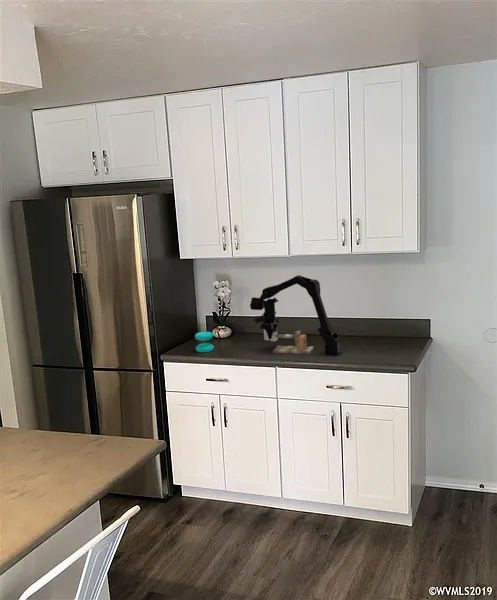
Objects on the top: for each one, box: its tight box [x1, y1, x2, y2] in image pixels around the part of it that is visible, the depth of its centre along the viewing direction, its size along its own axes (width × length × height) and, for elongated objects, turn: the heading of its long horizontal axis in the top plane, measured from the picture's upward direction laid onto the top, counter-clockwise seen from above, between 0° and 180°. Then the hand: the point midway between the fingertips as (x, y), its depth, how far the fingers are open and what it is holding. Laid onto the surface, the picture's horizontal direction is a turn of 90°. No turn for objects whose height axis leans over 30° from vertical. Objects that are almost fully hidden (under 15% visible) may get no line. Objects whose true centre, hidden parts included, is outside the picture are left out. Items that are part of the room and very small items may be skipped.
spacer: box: [299, 334, 308, 350], centre depth 324 cm, size 2×7×7 cm, turn 162°
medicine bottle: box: [263, 326, 279, 341], centre depth 356 cm, size 7×7×12 cm
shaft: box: [269, 331, 295, 342], centre depth 327 cm, size 14×4×5 cm, turn 72°
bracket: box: [272, 330, 314, 355], centre depth 326 cm, size 20×10×10 cm, turn 72°
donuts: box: [194, 331, 215, 353], centre depth 338 cm, size 10×10×10 cm
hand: (271, 338), depth 330 cm, fingers closed on shaft, 4 cm apart
